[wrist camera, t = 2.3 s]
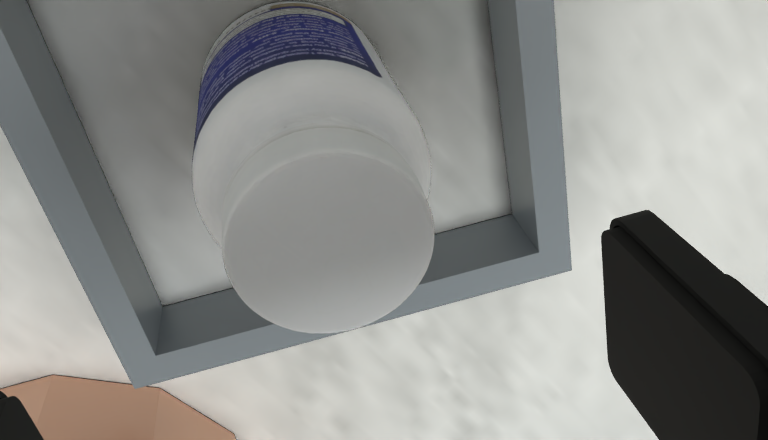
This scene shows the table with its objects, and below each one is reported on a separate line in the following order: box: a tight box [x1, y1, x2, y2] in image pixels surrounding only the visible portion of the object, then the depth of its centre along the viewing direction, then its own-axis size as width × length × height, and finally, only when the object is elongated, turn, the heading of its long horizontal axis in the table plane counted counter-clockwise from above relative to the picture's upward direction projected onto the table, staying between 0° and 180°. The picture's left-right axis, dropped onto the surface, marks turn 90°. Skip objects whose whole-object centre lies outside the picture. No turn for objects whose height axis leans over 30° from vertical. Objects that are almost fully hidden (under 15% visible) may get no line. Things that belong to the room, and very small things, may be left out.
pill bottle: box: [192, 1, 434, 334], centre depth 17 cm, size 5×5×9 cm
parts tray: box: [0, 0, 572, 389], centre depth 20 cm, size 14×14×2 cm
